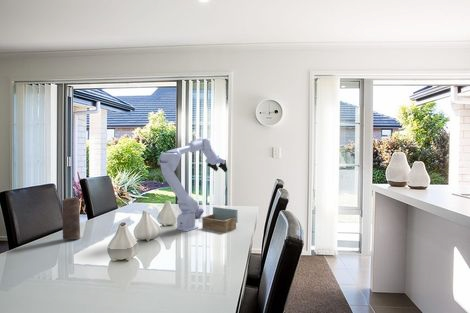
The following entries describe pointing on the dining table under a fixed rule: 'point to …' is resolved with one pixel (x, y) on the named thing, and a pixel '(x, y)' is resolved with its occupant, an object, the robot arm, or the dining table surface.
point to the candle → (71, 218)
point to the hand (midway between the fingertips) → (221, 170)
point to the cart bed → (218, 224)
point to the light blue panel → (224, 213)
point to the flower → (199, 212)
